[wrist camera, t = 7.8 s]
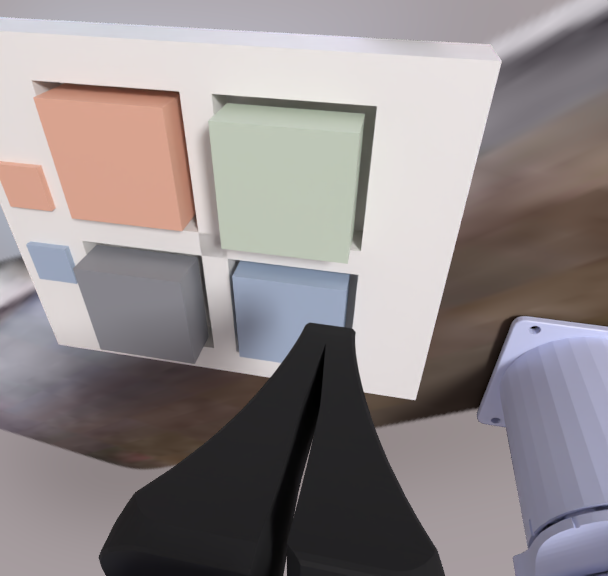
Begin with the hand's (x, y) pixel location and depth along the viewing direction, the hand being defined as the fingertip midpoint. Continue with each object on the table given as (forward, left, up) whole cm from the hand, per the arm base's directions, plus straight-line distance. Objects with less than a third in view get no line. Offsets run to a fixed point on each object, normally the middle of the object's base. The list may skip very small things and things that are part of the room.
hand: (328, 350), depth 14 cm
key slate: (+2, +5, -8) cm, 10 cm away
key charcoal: (+9, +5, -7) cm, 13 cm away
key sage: (+3, -2, -7) cm, 8 cm away
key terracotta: (+10, -2, -8) cm, 13 cm away
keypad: (+6, +2, -9) cm, 11 cm away
